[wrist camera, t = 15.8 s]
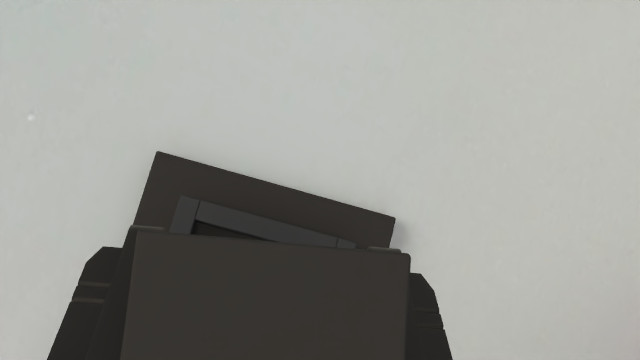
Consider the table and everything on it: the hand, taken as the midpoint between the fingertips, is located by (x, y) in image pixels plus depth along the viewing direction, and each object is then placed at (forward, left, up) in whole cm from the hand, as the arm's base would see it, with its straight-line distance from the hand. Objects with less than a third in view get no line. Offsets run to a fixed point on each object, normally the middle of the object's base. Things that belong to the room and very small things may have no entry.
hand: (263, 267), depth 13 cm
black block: (0, -2, -4) cm, 4 cm away
